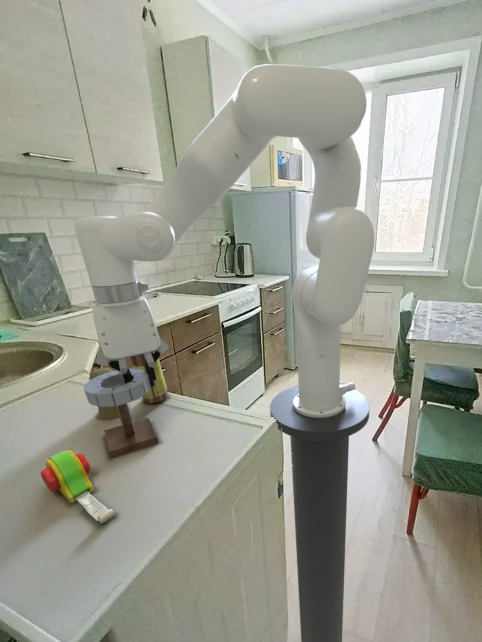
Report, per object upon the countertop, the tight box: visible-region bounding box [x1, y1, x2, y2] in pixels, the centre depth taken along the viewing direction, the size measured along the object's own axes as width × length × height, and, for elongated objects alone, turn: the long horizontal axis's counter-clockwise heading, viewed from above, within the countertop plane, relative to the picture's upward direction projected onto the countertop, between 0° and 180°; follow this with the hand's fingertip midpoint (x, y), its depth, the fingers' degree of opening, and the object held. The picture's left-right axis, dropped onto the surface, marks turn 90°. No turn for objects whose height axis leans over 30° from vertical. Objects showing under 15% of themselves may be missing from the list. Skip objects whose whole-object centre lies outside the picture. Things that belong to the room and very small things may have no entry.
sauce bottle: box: [129, 352, 169, 404], centre depth 85 cm, size 7×6×20 cm
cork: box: [88, 367, 120, 420], centre depth 82 cm, size 6×6×11 cm
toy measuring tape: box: [40, 449, 116, 525], centre depth 57 cm, size 6×19×7 cm, turn 51°
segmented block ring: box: [83, 368, 151, 408], centre depth 68 cm, size 11×11×3 cm
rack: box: [104, 383, 159, 459], centre depth 70 cm, size 9×9×12 cm
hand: (142, 385), depth 70 cm, fingers closed on segmented block ring, 3 cm apart
